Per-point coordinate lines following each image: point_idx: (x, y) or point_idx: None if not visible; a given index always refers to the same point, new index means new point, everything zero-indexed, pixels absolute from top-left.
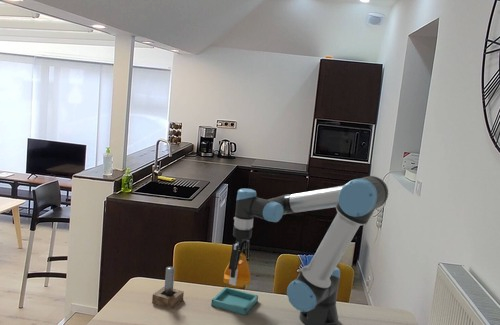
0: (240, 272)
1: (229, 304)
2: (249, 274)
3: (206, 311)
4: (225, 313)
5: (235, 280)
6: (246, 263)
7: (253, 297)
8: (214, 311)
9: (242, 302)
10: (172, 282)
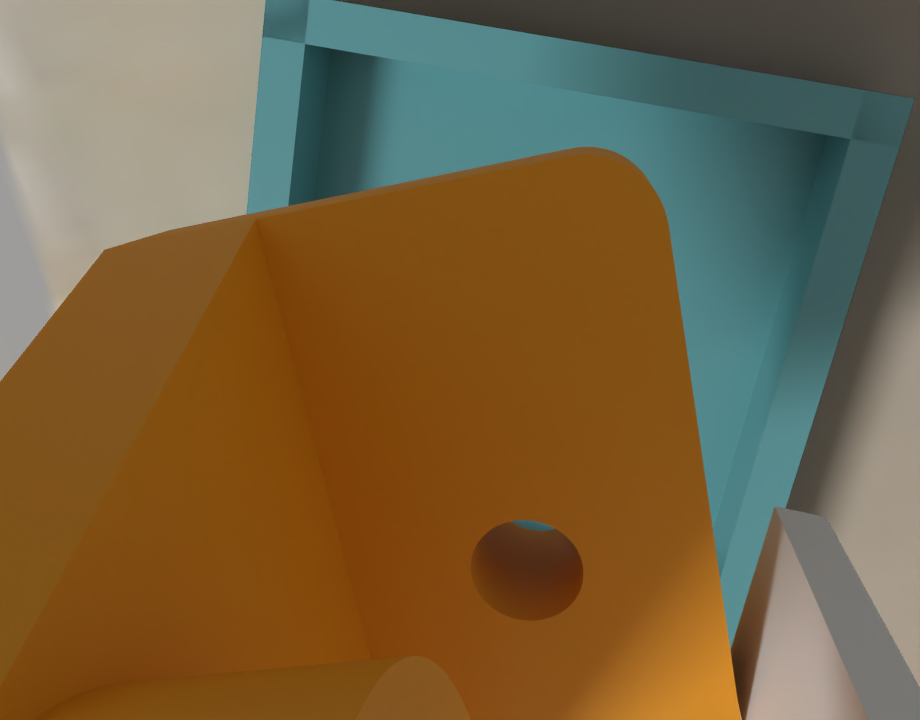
0: (306, 554)
1: (804, 421)
2: (243, 261)
3: (909, 666)
4: (897, 416)
5: (860, 603)
6: (81, 584)
7: (314, 76)
8: (878, 570)
9: None
10: None
